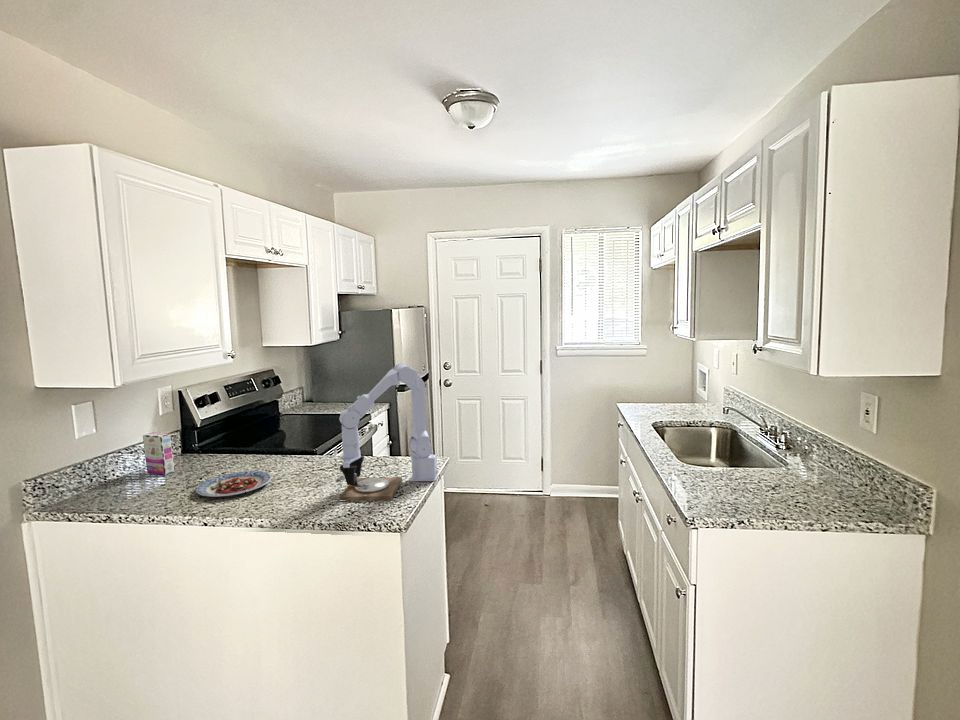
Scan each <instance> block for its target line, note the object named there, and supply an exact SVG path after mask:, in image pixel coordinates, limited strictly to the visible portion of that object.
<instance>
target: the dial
mask: <svg viewBox="0 0 960 720" xmlns="http://www.w3.org/2000/svg"><path fill="white" fill-rule="evenodd" d="M357 478H358V477H357V473H355V475H354V484H353V485H348V486H349V487H355V490H356V491H357V492H361V493H373V492H378V491H382V490H384V489H386V488H387V487H388V486H389V481H388V480H386V479H383V478H384V477H369V478H370V479H365V480H362V481H359V482H357Z"/></svg>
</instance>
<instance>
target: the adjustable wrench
mask: <svg viewBox="0 0 960 720" xmlns="http://www.w3.org/2000/svg"><path fill="white" fill-rule="evenodd" d="M365 459H366V458H365V457H364V460H363V461H365V462H366V460H365ZM344 479H345V476H344V474H343V472H341V473H340V474H339V476H338V477H337V481H338V480H343V481H345V480H346V479H345V480H344Z"/></svg>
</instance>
